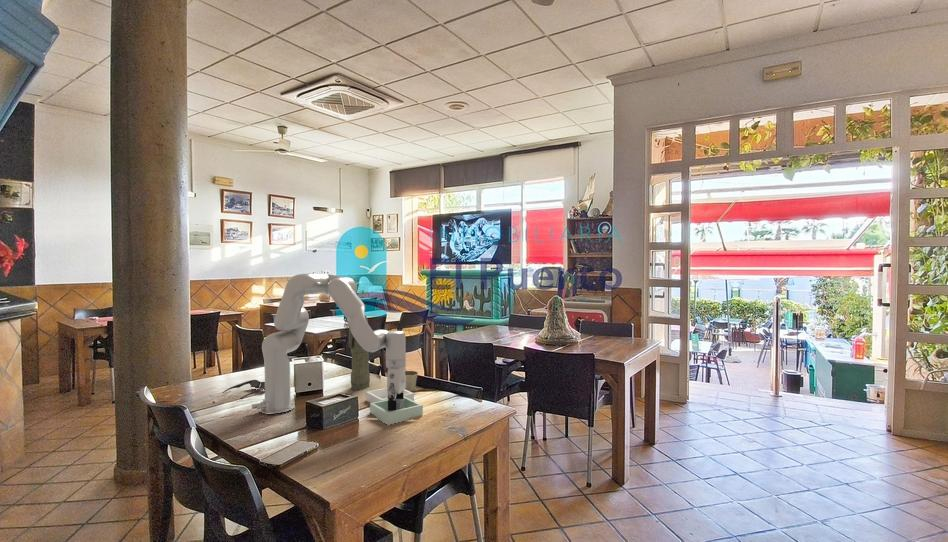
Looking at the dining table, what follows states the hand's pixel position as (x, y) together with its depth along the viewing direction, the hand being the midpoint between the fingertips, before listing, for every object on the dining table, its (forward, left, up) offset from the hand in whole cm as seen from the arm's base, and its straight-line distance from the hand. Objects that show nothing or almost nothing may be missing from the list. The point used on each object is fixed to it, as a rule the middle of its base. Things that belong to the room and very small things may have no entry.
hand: (395, 406), depth 170 cm
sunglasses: (-41, +69, -4) cm, 80 cm away
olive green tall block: (+6, +46, -4) cm, 47 cm away
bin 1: (+6, +16, -4) cm, 17 cm away
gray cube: (0, 0, -3) cm, 3 cm away
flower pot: (+21, +26, -4) cm, 34 cm away
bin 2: (0, 0, -4) cm, 4 cm away
